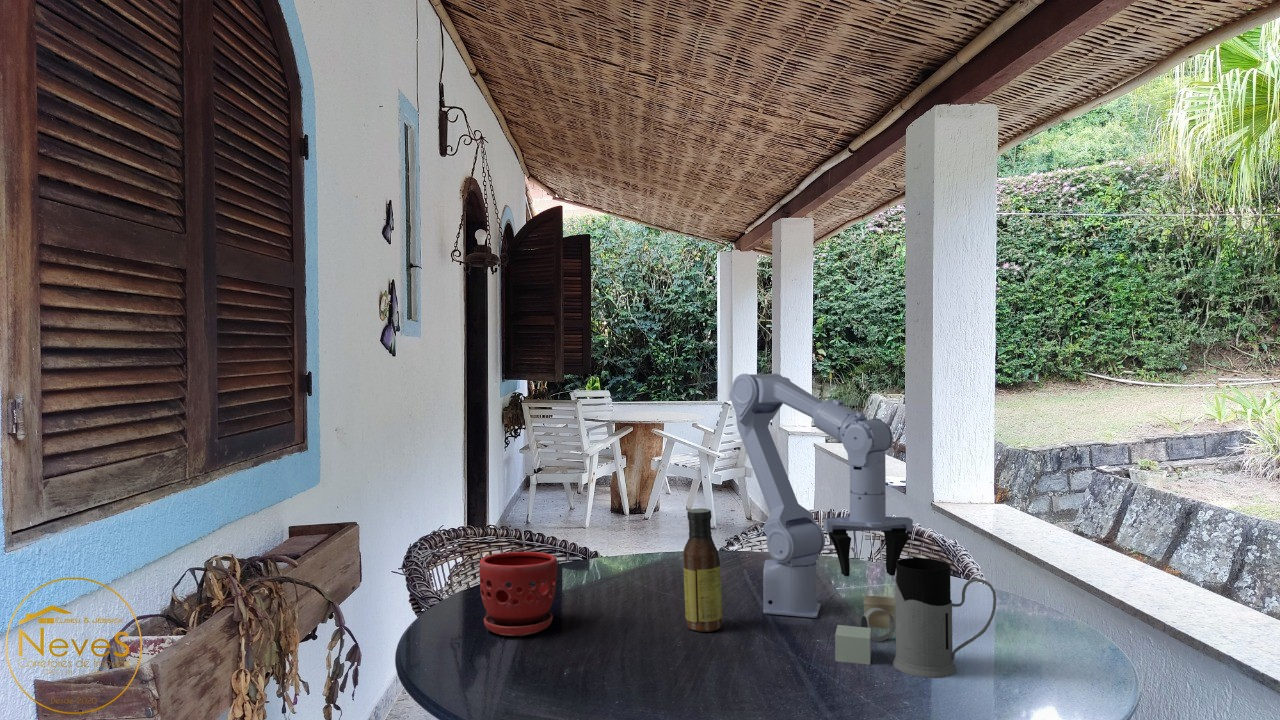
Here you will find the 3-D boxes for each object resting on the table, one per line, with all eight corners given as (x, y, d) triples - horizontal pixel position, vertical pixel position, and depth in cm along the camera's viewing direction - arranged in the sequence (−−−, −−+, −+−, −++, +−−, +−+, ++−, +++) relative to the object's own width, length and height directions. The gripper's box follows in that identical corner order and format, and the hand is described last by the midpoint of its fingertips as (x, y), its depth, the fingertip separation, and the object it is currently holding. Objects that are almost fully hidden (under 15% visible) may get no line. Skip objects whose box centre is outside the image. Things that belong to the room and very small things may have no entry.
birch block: (864, 627, 136) (864, 603, 136) (865, 618, 140) (865, 595, 141) (895, 629, 134) (895, 605, 134) (895, 620, 139) (894, 597, 139)
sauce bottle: (727, 624, 137) (726, 508, 137) (715, 635, 131) (714, 514, 132) (691, 619, 140) (690, 505, 140) (678, 630, 134) (677, 511, 134)
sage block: (835, 662, 120) (835, 635, 120) (837, 650, 124) (837, 624, 124) (870, 665, 118) (869, 638, 118) (871, 654, 123) (870, 627, 123)
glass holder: (900, 652, 123) (899, 554, 123) (1000, 669, 116) (999, 565, 116) (886, 670, 116) (885, 566, 116) (993, 690, 109) (991, 579, 109)
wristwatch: (860, 638, 130) (860, 607, 130) (889, 636, 131) (889, 605, 131) (867, 644, 127) (867, 612, 127) (897, 642, 128) (897, 610, 128)
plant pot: (570, 631, 134) (570, 560, 134) (495, 646, 127) (495, 570, 127) (538, 611, 145) (538, 545, 145) (468, 623, 138) (468, 554, 139)
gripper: (831, 496, 128) (832, 581, 128) (920, 495, 129) (920, 580, 129) (819, 490, 135) (819, 570, 135) (903, 489, 136) (903, 569, 136)
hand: (868, 574), depth 133 cm, fingers open, 7 cm apart
